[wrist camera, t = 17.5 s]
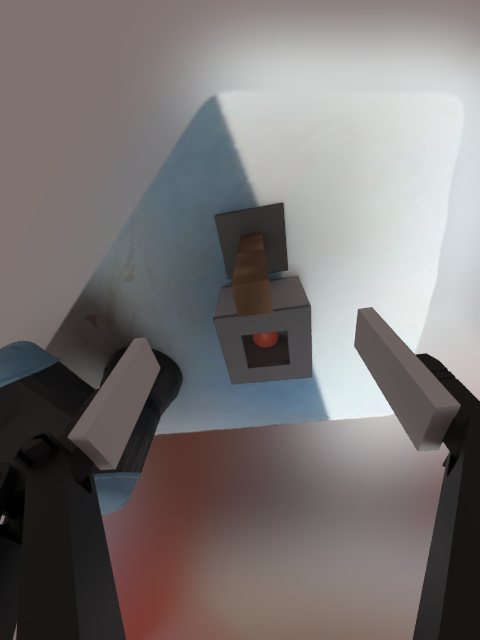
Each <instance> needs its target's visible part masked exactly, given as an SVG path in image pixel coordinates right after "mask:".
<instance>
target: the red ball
mask: <svg viewBox="0 0 480 640" xmlns="http://www.w3.org/2000/svg"><path fill="white" fill-rule="evenodd" d="M253 340H254V342H255V344H256V345H258V346H260V347H264V348H267V347H271V346H273V345H274V344H275V343H276V342H277V340H278V334H277V331H276V332H267V333H259V334H253Z"/></svg>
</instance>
